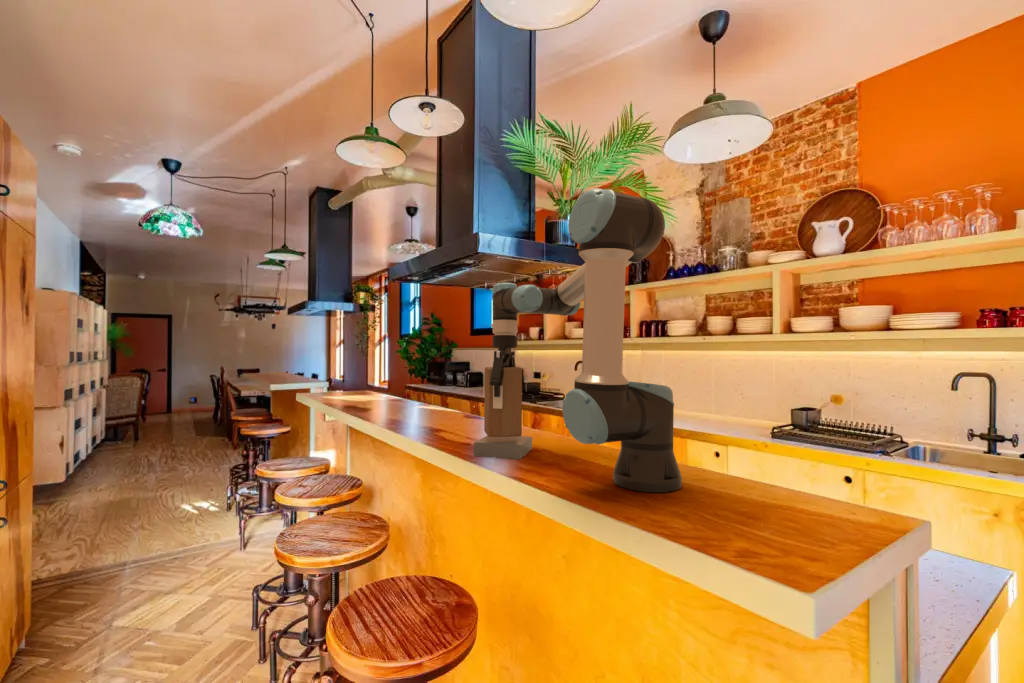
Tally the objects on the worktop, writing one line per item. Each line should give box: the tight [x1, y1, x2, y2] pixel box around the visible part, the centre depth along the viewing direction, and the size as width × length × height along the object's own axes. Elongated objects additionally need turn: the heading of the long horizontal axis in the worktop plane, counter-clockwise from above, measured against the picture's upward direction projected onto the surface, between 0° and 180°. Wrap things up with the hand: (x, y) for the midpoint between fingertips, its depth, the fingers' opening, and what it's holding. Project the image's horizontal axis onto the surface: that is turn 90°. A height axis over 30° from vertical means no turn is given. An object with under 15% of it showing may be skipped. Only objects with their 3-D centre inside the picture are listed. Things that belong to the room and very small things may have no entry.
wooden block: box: [483, 366, 523, 437], centre depth 140 cm, size 10×10×20 cm
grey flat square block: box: [473, 435, 533, 460], centre depth 140 cm, size 14×14×4 cm
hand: (504, 406), depth 140 cm, fingers closed on wooden block, 12 cm apart
